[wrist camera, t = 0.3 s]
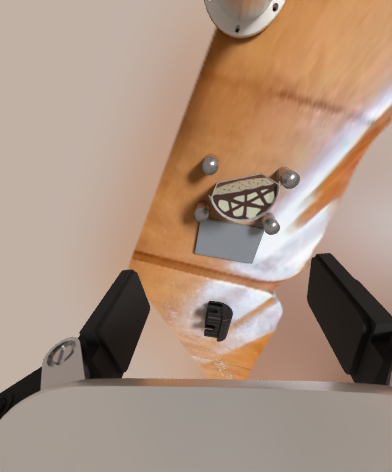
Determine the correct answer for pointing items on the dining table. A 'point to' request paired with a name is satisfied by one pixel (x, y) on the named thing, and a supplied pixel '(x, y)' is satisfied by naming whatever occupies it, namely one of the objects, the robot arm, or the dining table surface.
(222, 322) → the end cap
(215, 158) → the spacers
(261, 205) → the food container
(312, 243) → the dining table surface
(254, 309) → the dining table surface
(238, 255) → the pad
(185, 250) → the dining table surface
